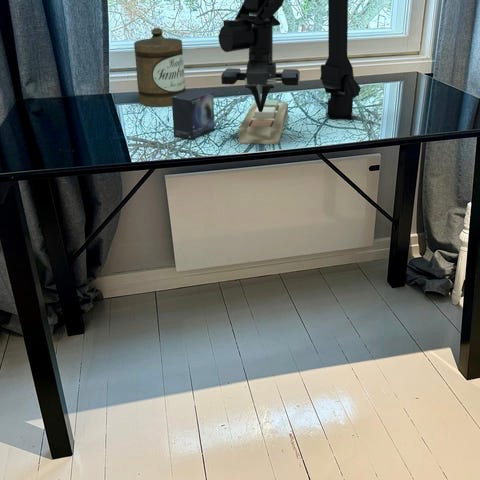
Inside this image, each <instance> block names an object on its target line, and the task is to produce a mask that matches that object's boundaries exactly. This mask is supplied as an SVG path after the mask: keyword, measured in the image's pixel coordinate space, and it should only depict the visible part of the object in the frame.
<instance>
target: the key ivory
mask: <svg viewBox="0 0 480 480" xmlns="http://www.w3.org/2000/svg"><path fill="white" fill-rule="evenodd" d="M254 118H273V119H275V107H264V108H263V111H262V112H259V110H258V107H257V108H256V110H255V112H254Z"/></svg>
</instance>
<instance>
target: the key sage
mask: <svg viewBox="0 0 480 480" xmlns="http://www.w3.org/2000/svg"><path fill="white" fill-rule="evenodd" d="M278 103H279V100H277V99H266V102H265V105H264V107H275V111H278Z"/></svg>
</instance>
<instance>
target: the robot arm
mask: <svg viewBox="0 0 480 480" xmlns="http://www.w3.org/2000/svg"><path fill="white" fill-rule="evenodd" d="M284 1H285V0H243V2H242V4H241V6H240V8H239V10H238V12H237V14H236V16H235V18H234V19H224V20H223V21H222V23H223V24H222V25H223V26H221V28H220V29H219V34H218V36H217V37H218V43H219V46H220V48H221V50H222V51H224V52H225V53H230V52H237V51H241V50H243V51H244V50H248V60H247V65H246V71H243V72H242V71H241V68H226V69H225V70H224V71H223V72H222V73H221V77H220V78H221V85H235V84H236V83H237V81H244V82H245V84H244V89H245V88H246V89H248V90H249V91H250V92H251V94H252V96H253V98H254V102H256V104H257V107H258V110H259V112H262V111H263V108H264V105H265V102H266V100H268V99H267V98H268V95H269V92H270V90H272V89H275V88H276V86H277V82H278V81H279V82H281V83H282V84H283V85H284V86H299V83H300V79H301V76H300V75H301V74H300V72H301V71H300V70H299V69H297V68H292V69H291V68H290V69H289V68H283V70H282V71H281V72H277V63H276V62H273V51H274V50H273V45H274V44H273V43H274V42H273V38H274V37H273V29H274V28H273V27H277V26H280V25H281V22H280V21H279V20H278V19H277V17H276V16H275V14H276V13H277V12H278V11H279V9H281V7H282V6H283V3H284ZM327 3H328V7H327V8H328V11H327V12H328V27H327V28H328V29H327V30H328V34H327V35H328V38H327V39H328V43H327V45H328V57H327V59H326V62H325V63H324V64H321V65H320V78H319V79H320V81H321V83H322V86H323V88H324V92H325V93H326V94H330V96H329V98H328V99H327V116H328V119H333V120H334V119H335V120H337V119H338V120H353V108H354V107H353V106H354V99H355V98H356V97H359V96H360V93H361V86H360V85H359V84H358V82H357V81H356V79H354V78H355V77H354V67H353V65H352V63H351V62H350V59H349V57H348V33H349V32H348V25H349V24H348V22H349V0H327ZM261 86H262V87H261ZM261 90H262V92H261Z"/></svg>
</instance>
